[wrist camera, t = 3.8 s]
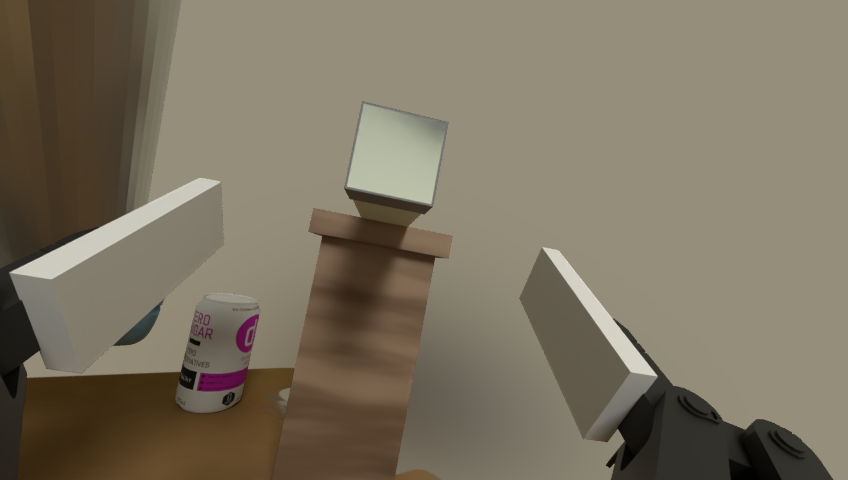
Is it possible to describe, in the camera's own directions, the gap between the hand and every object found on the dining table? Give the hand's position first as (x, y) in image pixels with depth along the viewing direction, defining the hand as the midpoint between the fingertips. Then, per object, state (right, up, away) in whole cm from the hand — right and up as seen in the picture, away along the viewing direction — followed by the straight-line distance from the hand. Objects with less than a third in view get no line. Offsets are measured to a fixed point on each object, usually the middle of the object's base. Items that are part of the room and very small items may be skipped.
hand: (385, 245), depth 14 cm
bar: (-2, +2, +17) cm, 17 cm away
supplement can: (-29, -23, +34) cm, 51 cm away
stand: (-8, -26, +23) cm, 36 cm away
